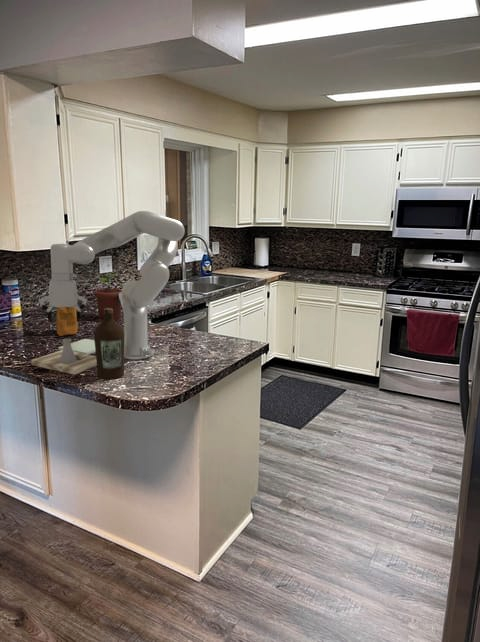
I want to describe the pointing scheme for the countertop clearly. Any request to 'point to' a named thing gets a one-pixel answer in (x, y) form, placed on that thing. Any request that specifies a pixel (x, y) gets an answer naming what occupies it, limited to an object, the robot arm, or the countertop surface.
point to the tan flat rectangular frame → (73, 368)
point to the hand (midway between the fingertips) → (64, 321)
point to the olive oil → (109, 347)
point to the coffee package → (66, 321)
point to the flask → (67, 353)
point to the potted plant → (109, 301)
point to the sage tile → (82, 346)
